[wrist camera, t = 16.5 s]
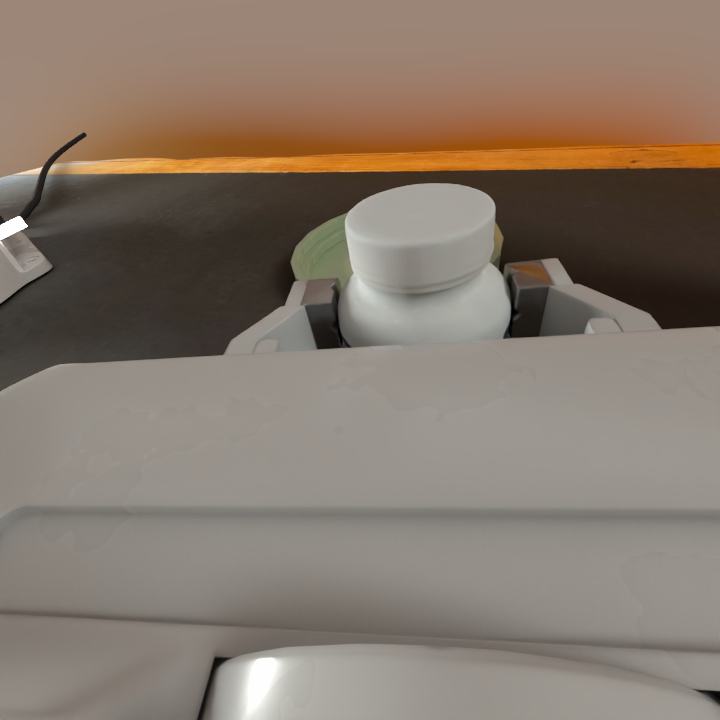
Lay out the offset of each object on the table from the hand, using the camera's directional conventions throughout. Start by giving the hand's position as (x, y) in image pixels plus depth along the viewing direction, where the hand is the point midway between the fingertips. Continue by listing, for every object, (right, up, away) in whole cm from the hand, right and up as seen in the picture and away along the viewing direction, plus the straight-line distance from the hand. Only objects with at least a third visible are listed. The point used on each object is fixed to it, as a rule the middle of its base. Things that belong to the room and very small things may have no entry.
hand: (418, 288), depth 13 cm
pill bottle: (+1, -6, +4) cm, 7 cm away
